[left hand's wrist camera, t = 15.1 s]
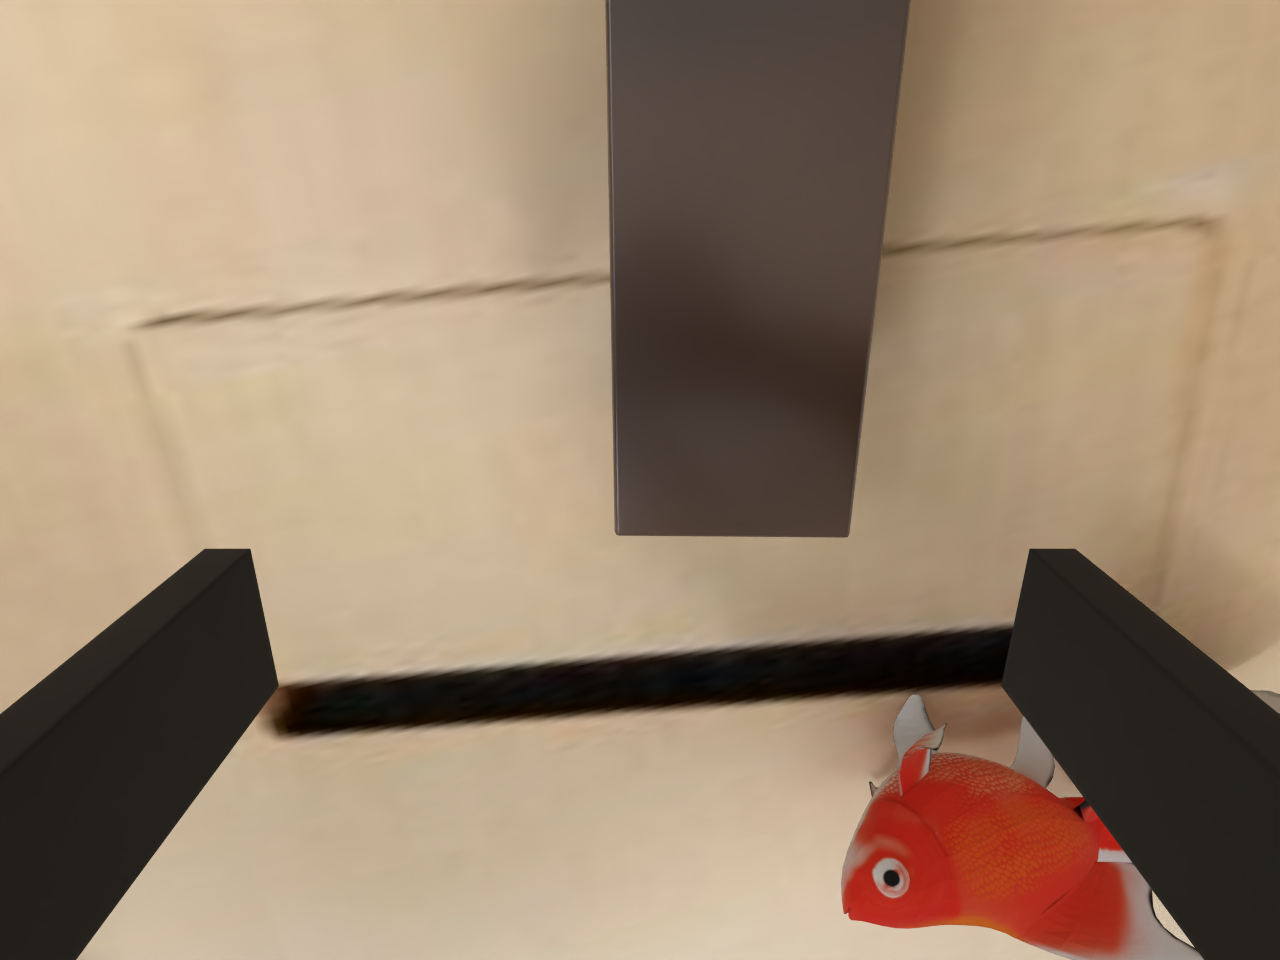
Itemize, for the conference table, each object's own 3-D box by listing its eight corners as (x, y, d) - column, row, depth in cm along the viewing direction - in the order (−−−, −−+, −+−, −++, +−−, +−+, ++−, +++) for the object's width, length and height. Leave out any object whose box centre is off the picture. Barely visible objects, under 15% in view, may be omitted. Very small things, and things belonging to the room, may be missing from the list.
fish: (829, 619, 20) (1135, 1035, 14) (1198, 507, 26) (1542, 761, 19) (749, 803, 27) (925, 1137, 21) (1053, 683, 33) (1269, 915, 26)
